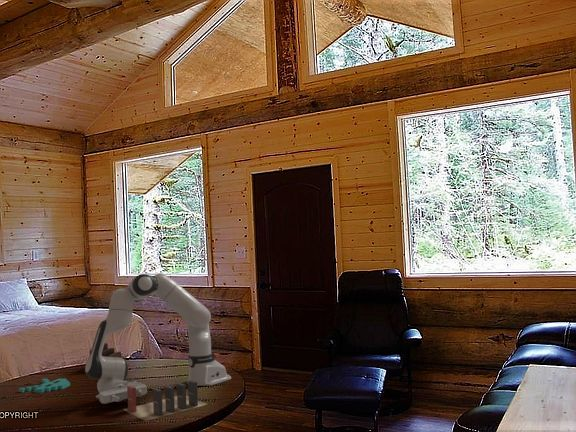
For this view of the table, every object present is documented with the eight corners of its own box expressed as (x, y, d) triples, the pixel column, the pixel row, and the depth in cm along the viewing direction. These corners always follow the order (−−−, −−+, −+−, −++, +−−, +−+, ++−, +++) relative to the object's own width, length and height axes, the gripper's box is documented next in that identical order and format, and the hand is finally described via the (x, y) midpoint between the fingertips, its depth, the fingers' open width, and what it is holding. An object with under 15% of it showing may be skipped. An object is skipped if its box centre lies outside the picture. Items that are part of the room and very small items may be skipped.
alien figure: (18, 393, 275) (54, 393, 271) (18, 388, 275) (54, 389, 271) (44, 382, 294) (77, 382, 290) (44, 378, 294) (77, 378, 290)
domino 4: (192, 403, 238) (191, 380, 239) (197, 405, 234) (197, 382, 235) (188, 404, 237) (187, 380, 238) (194, 406, 233) (193, 382, 234)
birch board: (183, 396, 253) (183, 394, 253) (208, 406, 236) (208, 404, 236) (123, 411, 234) (122, 409, 234) (145, 423, 217) (145, 421, 217)
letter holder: (89, 373, 310) (88, 348, 311) (107, 364, 330) (106, 341, 331) (105, 373, 309) (105, 347, 309) (122, 364, 328) (121, 341, 329)
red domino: (131, 409, 234) (130, 385, 235) (136, 411, 230) (135, 387, 231) (128, 409, 233) (127, 386, 234) (132, 412, 229) (132, 388, 230)
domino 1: (157, 412, 228) (156, 388, 228) (162, 415, 224) (161, 390, 224) (153, 413, 227) (152, 389, 227) (159, 416, 223) (158, 391, 223)
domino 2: (169, 409, 231) (168, 385, 232) (174, 411, 227) (173, 387, 228) (165, 410, 230) (164, 386, 231) (171, 412, 226) (170, 388, 227)
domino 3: (180, 406, 235) (179, 382, 235) (186, 408, 231) (185, 384, 231) (177, 407, 234) (176, 383, 234) (183, 409, 230) (182, 385, 230)
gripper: (94, 388, 237) (106, 394, 226) (138, 379, 250) (152, 384, 239) (94, 403, 237) (106, 410, 226) (139, 393, 250) (152, 399, 239)
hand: (130, 396), depth 233 cm, fingers open, 8 cm apart
